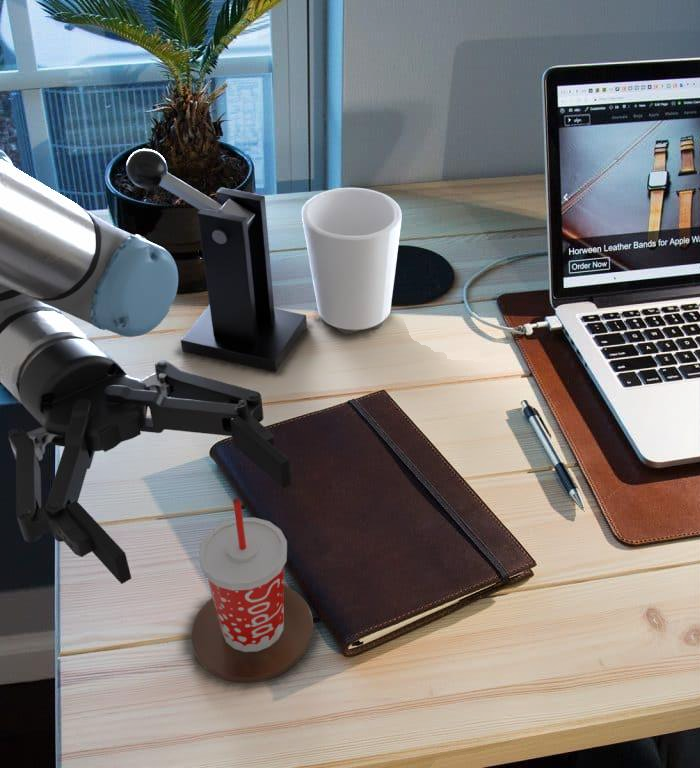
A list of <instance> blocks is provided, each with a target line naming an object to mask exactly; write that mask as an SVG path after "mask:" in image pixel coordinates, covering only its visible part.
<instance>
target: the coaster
mask: <svg viewBox="0 0 700 768" xmlns="http://www.w3.org/2000/svg"><path fill="white" fill-rule="evenodd" d="M313 633H314V618H313V614H312V610H311V609H310V606H309V604H308V602H306V600H305V599H304V598H303V597H302V596H301V594H299V593H298V592H297V591H296V590H294V589H292V588H291V587H288V586H286V585H284V626H283V632H282V633H281V635H280V637H279V639H278V640H277V641H276V642H274V643H273V644H272V645H271V646H270V647H268V648H265V649H262V650H260V651H256V652H243V651H240V650H236V649H234V648H233V647H231V646H230V645H229V644H228V643H226V641H225V638H224V636H223V634H222V630H221V626H220V623H219V619H218V615H217V612H216V608H215V604H214V601H213V597H211V598H210V599H209V600H208V601H207V602H206V603H205V604H204V605H203V606H202V607H201V609H200V610H199V612H198V613H197V614H196V617H195V619H194V622H193V625H192V629H191V643H192V649H193V652H194V655H195V657H196V659H197V660H198V663H200V664H201V666H202V667H203V668H204V669H205V670H206V671H208V672H209V673H211V674H212V675H213V676H214V677H217V678H220V679H223V680H224V681H228V682H232V683H243V684H244V683H246V684H247V683H258V682H262V681H266V680H270V679H273V678H276V677H277V676H279V675H281V674H283V673H285V672H287V671H288V670H289V669H291V668H292V667H294V666H295V665H296V664H297V663H298V662H299V661H300V660H301V659H302V657H303V656H304V654H305V653H306V652H307V650H308V648H309V647H310V644H311V642H312V638H313V635H314V634H313Z"/></svg>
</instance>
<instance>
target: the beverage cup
mask: <svg viewBox="0 0 700 768" xmlns="http://www.w3.org/2000/svg"><path fill="white" fill-rule="evenodd" d="M232 505H233V510H234V512H233V513H234V519H230V520H227V521H224V522H221V523H219V524H218V525H217V526H216V527H214V528H213V529H211V530H209V531H208V532H207V534H206V535H205V537H204V538H203V540H202V541H201V543H200V544H199V549H198V557H197V559H198V561H199V566H200V568H201V570H202V573H203V575H204V578H206V579H207V582H208V586H209V590H210V593H211V596H212V597H213V601H214V604H215V608H216V612H217V615H218V619H219V623H220V626H221V630H222V634H223V636H224V638H225V641H226V643H228V644H229V645H230V646H231V647H233V648H234V649H236V650H240V651H243V652H256V651H260V650H262V649H265V648H268V647H270V646H271V645H272V644H273V643H274V642H276V641H277V640H278V639H279V637H280V635H281V633H282V632H283V626H284V586H285V581H284V580H285V564H286V563H287V561H288V559H287V558H288V554H287V553H288V540H287V539H286V537H285V535H284V533H283V531H282V529H281V528H279V527H278V526H277V525H275V524H273V522H271V521H269V520H266V519H261V518H258V517H243V511H242V502H241V499H240V498H239V497H235V498H233V500H232ZM212 597H211V598H212Z"/></svg>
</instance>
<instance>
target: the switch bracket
mask: <svg viewBox="0 0 700 768" xmlns="http://www.w3.org/2000/svg"><path fill="white" fill-rule="evenodd" d="M216 198H217V203H219V204H220V205H222V206H223V205H224V204H225V203H226V202H227V200H228V199H230V200H232V201H234V202H235V203H237V204H239V205H240V206H242V207H244V208H245V209H247V210H249V211H250V212H252V213H253V214H255V216H254V219H253V221H252V223H251V225H250V227H249V229H248V227H247V218H246V217H243V216H238V215H233V214H228V213H223V212H218V211H213V210H208V209H203V208H202V209H201V210H199V211H198V212H197V219H198V221H197V222H198V227H199V236H200V242H201V251H202V259H203V266H204V267H203V268H204V273H205V281H206V288H207V295H208V296H207V297H208V303H209V304H208V306H207V307H206V308H205V309H204V310H203V312H202V313H201V314H200V316H199V317H198V318H197V319H196V321H195V322H194V323H193V324H192V325H191V327H190V328H189V329H188V330H187V331H186V332H185V334H184V335H183V336H182V337H181V339H180V344H181V351H182V353H186V354H191V355H196V356H201V357H203V358H204V357H205V358H209V359H213V360H218V361H223V362H227V363H232V364H236V365H241V366H244V367H245V366H246V367H249V368H254V369H259V370H263V371H267V372H272V373H277V372H278V371H279V369H280V367H281V366H282V364H283V363H284V361H285V360H286V358H288V355H289V354H290V352H291V351H292V350H293V347H295V345H296V343H297V342H298V340H299V339H300V337H301V336H302V334H303V333H304V331H305V330H306V329H307V325H308V324H307V323H308V322H307V314H304V313H298V312H294V311H289V310H285V309H280V308H276V307H275V303H274V291H273V279H272V266H271V255H270V254H271V253H270V243H269V232H268V231H269V230H268V219H267V207H266V196H265V195H261V194H255V193H252V192H251V193H250V192H247V191H246V192H245V191H241V190H236V189H230V188H225V187H220V188H219V189H218V190H217V191H216Z"/></svg>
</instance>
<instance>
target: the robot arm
mask: <svg viewBox="0 0 700 768" xmlns="http://www.w3.org/2000/svg"><path fill="white" fill-rule="evenodd" d="M178 287H179V272H178V266H177V264H176V261H175V259H174V257H173V256H172V255H171V253H170V252H169V251H168V250H166V249H165V248H164V247H162V246H160V245H158V244H156V243H153V242H151V241H149V240H147V238H146V237H144V236H142V235H141V234H137V233H135V234H133V233H130V232H128V231H125V230H123V229H121V228H119V227H117V226H116V225H115V226H114V225H113V224H111V223H109V222H107V221H106V220H105V219H103V218H101V217H99V216H97V215H95V214H94V213H92V212H91V211H88V210H87V209H85V208H82V207H81V206H80V205H78V204H77V203H75V202H74V201H72V200H71V199H69V198H67V197H65V196H64V195H62V194H60V193H59V192H57V191H55V190H53V189H51V188H50V187H48V186H46V185H45V184H43V183H42V182H40V181H38V180H36V179H35V178H33V177H31V176H29V175H28V174H26V173H24V172H23V171H21V170H19V169H18V168H16V167H15V166H14V165H13V162H12V160H11V158H10V157H9V156H8V155H7V154H6V153H5V152H4V151H3V150H1V149H0V383H1V384H2V385H3V386H4V387H5V389H7V391H8V392H10V393H11V395H12V396H13V397H14V398H15V399H16V400H17V401H18V402H19V403H20V404H21V405H23V407H24V408H25V409H26V410H27V412H28V413H29V414H30V415H31V416H32V417H33V418H34V419H35V420H36V421H37V422H38V423H39V424H40V425H41V426H40V427H38V428H35V429H32V430H30V431H26V429H24V428H23V427H17V426H16V427H13V428H11V429H10V430H9V431H7V437H8V440H9V443H10V446H11V450H12V452H13V456H14V458H15V510H16V511H15V516H16V519H17V523H18V525H19V528H20V532H21V534H22V537H23V541H25V542H27V543H35V542H37V541H39V540H41V538H42V535H46V534H53V537H54V540H55V541H57V542H58V543H59V542H60V543H65V544H66V546H68V547H69V549H70V550H71V552H73V554H75V555H76V556H78V557H80V558H83V557H84V556H87V555H88V554H90V553H93V555H94V556H95V557H96V558H97V559H98V560H99V561H100V563H102V564H103V565H104V566H105V568H106V569H107V570H108V571H109V572H110V573H111V574H112V575H113V577H114V578H115V579H116V580H117V581H118V582H119V583H120V585H123V584H125V583H126V582H128V581H129V580H131V579H132V574H131V570H130V567H129V561H128V559H127V558H128V557H127V553H126V552H125V551H124V550H123V549H122V548H121V547H120V545H118V543H117V542H116V541H115V540H114V539H113V538H112V537H111V536H110V535H109V534H108V533H107V532H106V530H104V529H103V528H102V526H101V525H100V524H99V523H98V521H96V520H95V519H94V517H92V515H91V514H90V513H89V512H88V511H87V510H86V509H85V508H84V507H83V506H82V505H81V504H80V503H79V499H80V495H81V491H82V489H83V485H84V482H85V478H86V476H87V475H86V474H87V472H88V470H90V469H91V466H92V463H93V459H94V455H95V452H101V451H103V452H104V453H106V452H108V451H110V450H113V449H114V448H116V447H117V446H118V445H120V444H121V443H123V442H126V441H128V440H132V439H134V438H136V437H138V436H140V435H141V434H142V433H141V432H144V433H155V434H161V433H163V432H164V431H165V430H166V431H167V430H168V431H177V432H188V433H196V434H197V433H198V434H206V435H208V434H209V435H217V436H226V437H232V444H233V446H234V447H235V448H236V449H238V451H239V452H241V453H242V454H243V455H244V456H245V457H247V459H248V460H250V461H251V462H252V463H253V464H254V465H255V466H256V467H257V468H259V469H260V470H261V471H262V472H263V473H264V474H266V475H267V476H268V477H269V479H271V480H272V481H273V482H274V483H275V484H277V485H278V486H279V487H280V488H281V489H282V490H285V489H286V488H289V486H291V485H292V479H291V467H290V466H291V465H290V459H289V458H288V457H287V456H286V455H284V453H283V452H281V451H280V450H279V449H278V448H277V447H275V442H274V435H273V434H272V432H271V431H270V430H269V429H268V428H267V427H265V426H264V425H263V424H262V423H261V422H262V421H263V420H264V410H263V400H262V394H261V393H260V392H259V391H256V390H253V389H249V388H245V387H242V386H238V385H235V384H231V383H227V382H224V381H221V380H216V379H213V378H209V377H206V376H202V375H200V374H199V375H198V374H196V373H192V372H188V371H185V370H181V369H180V368H179V367H177V366H176V365H174V364H172V363H171V362H170V361H167V360H159V361H157V362H156V363H155V364H154V369H155V372H153V373H152V374H150V375H149V376H146V377H145V378H143V379H140V378H136V377H132V376H131V375H128V374H127V373H126V372H125V370H124V368H122V367H121V366H120V364H119V363H117V362H116V361H115V360H114V359H113V357H111V356H110V355H109V354H108V353H106V351H104V350H103V349H102V348H101V347H100V346H99V345H98V344H97V343H95V342H94V341H93V340H92V339H91V338H90V337H89V336H88V335H87V334H86V333H85V332H84V331H82V330H81V329H80V328H79V327H78V326H77V325H76V324H75V323H73V322H72V321H71V320H70V319H69V318H68V317H66V316H65V315H64V314H63V313H65V314H67V315H71V316H72V317H75V318H77V319H78V320H82V321H84V322H86V323H88V324H91V325H92V326H93V327H95V328H97V329H99V330H102V331H105V330H106V331H109V332H111V333H115V334H116V335H120V336H123V337H127V338H133V337H134V338H135V337H140V336H144V335H146V334H148V333H149V332H151V331H153V330H154V329H156V328H157V327H158V326H159V325H160V324H161V323H162V322H163V321H164V319H166V317H167V315H168V314H169V312H170V308H171V306H172V304H173V302H174V301H175V300H176V297H177V293H178ZM148 408H149V412H150V413H149V414H150V416H147V415H148ZM49 443H50V444H51V445H53V446H58V447H63V450H62V453H61V457H60V460H59V463H58V466H57V469H56V472H55V476H54V479H53V482H52V485H51V487H50V491H49V494H48V497H47V500H46V503H45V506H44V507H42V479H41V478H42V476H41V467H40V463H39V462H40V461H42V460H43V458H44V457H43V456H44V454H45V453H46V446H47V445H48V444H49Z"/></svg>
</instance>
